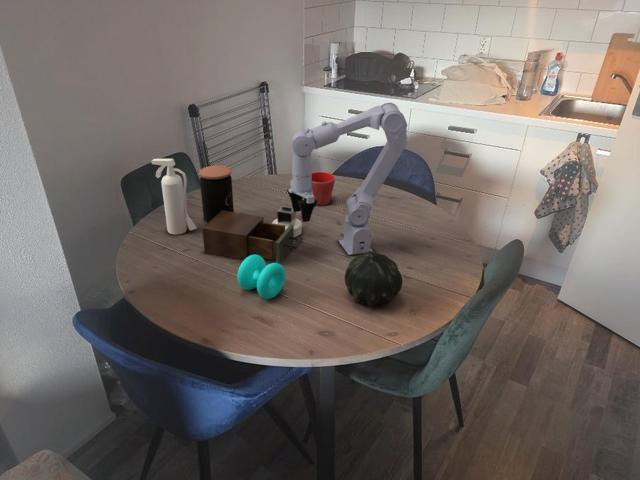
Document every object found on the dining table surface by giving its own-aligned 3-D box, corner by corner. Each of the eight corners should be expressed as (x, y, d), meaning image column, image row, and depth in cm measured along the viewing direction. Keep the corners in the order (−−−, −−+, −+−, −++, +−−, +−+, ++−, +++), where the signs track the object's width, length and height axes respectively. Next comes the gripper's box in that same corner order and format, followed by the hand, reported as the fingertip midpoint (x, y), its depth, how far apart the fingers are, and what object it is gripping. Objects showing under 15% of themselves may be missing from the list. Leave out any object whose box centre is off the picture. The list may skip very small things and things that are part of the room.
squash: (390, 259, 140) (363, 230, 130) (421, 288, 128) (393, 259, 119) (354, 294, 142) (324, 268, 132) (381, 326, 130) (350, 300, 121)
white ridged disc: (267, 236, 163) (267, 227, 162) (277, 223, 172) (276, 214, 170) (297, 240, 161) (297, 231, 159) (305, 227, 169) (305, 218, 167)
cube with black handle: (295, 221, 165) (296, 206, 162) (291, 226, 162) (291, 211, 159) (281, 218, 167) (281, 204, 164) (277, 224, 163) (277, 209, 161)
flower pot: (324, 209, 181) (325, 184, 176) (299, 202, 187) (299, 177, 182) (339, 200, 188) (340, 175, 183) (315, 193, 194) (316, 169, 189)
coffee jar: (232, 226, 170) (229, 176, 160) (201, 226, 170) (196, 176, 161) (235, 213, 179) (232, 165, 169) (206, 213, 179) (201, 165, 170)
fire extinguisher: (192, 237, 163) (183, 164, 150) (159, 233, 166) (147, 161, 153) (200, 228, 169) (192, 157, 156) (168, 224, 172) (158, 154, 158)
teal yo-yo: (260, 278, 142) (259, 247, 137) (287, 290, 137) (287, 259, 131) (236, 293, 136) (234, 262, 130) (263, 307, 130) (262, 274, 125)
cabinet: (264, 240, 161) (263, 216, 157) (247, 260, 150) (246, 235, 146) (224, 233, 166) (222, 210, 161) (204, 252, 155) (202, 228, 150)
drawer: (305, 246, 156) (306, 227, 152) (292, 265, 146) (292, 245, 142) (254, 237, 161) (253, 218, 158) (238, 255, 151) (237, 235, 148)
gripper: (280, 167, 150) (281, 208, 157) (298, 184, 139) (297, 228, 146) (302, 164, 152) (301, 205, 159) (321, 181, 141) (320, 224, 148)
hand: (301, 216), depth 153 cm, fingers open, 7 cm apart
